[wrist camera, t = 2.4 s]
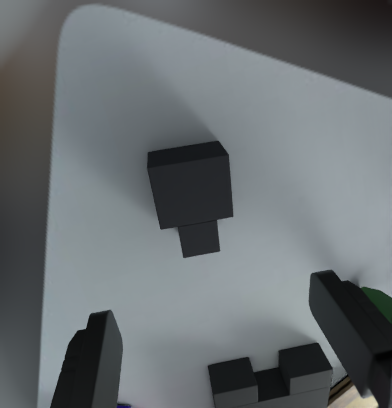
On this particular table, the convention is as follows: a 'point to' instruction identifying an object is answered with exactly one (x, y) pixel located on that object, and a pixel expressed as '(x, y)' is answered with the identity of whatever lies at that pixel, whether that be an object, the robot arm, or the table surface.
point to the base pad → (274, 381)
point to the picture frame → (349, 397)
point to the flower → (380, 301)
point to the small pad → (192, 193)
